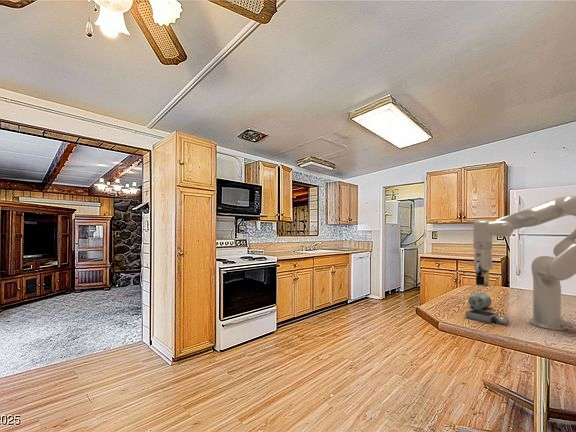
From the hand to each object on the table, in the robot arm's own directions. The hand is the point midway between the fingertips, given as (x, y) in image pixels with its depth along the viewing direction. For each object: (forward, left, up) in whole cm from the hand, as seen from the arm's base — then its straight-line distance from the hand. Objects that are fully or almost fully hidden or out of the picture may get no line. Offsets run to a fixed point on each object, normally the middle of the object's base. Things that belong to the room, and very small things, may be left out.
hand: (482, 283), depth 142 cm
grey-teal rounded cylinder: (+8, -21, -17) cm, 28 cm away
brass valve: (0, 0, -1) cm, 1 cm away
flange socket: (-3, 0, -17) cm, 17 cm away
